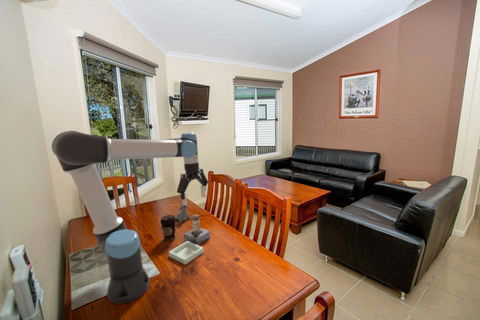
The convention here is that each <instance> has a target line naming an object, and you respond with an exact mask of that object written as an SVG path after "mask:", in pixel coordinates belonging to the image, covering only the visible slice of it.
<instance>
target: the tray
mask: <svg viewBox="0 0 480 320" xmlns="http://www.w3.org/2000/svg"><path fill="white" fill-rule="evenodd" d="M204 249H205V248H204V247H203V246H200V245H196V244H194V243H191V242H189V241H184V242H182V243H181V244H180V245H178V246H177V247H174V248H172V249H171V250H169V251H168V256H169V257H170V258H171V259H174V260H175V261H178V262H180V263H182V264H183V265H185V266H186V265H187V264H188V263H190V262H191V261H193V260H194V259H196V258H197V257H199V256H201V255H202V254H203V253H205V252H204Z"/></svg>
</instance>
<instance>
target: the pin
mask: <svg viewBox="0 0 480 320" xmlns="http://www.w3.org/2000/svg"><path fill="white" fill-rule="evenodd" d="M200 221H201V220H200V215H199V214H197V213H196V214H195V213H194V214H192V215H191V222H192V224H191V225H192V229H193V234H194V235H196V236H197V235H199V234H200V228H201V222H200Z"/></svg>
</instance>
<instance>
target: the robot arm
mask: <svg viewBox="0 0 480 320" xmlns="http://www.w3.org/2000/svg"><path fill="white" fill-rule="evenodd" d="M180 136H181V137H178V138H177V137H176V138H165V139H143V138H140V139H139V138H135V139H134V138H133V139H132V138H108V136H106V135H94V134H88V133H85V132H84V133H83V132H80V131H76V130H67V131H64V132H61V133H58V134H57V135H56V136H55V137H54V139H52V142H51V149H52V152H53V154H54V155H55V156H56V158H57V160H58V163H59V165H60V167H61V169H62V171H63V172H64V173H66V174H69V175H70V176H71V178H72V180H73V182H74V184H75V186H76V189H77V191H78V193H79V195H80V197H81V200H82V201H83V204H84V206H85V208H86V210H87V212H88V215H89V216H90V219H91V220H92V223H93V225H94V227H93V229H92V233H93V236H94V237H95V239H96V244H97V246H98V247H99V248H100V249H101V251H102V253H103V255H104V256H105V258H106V261H107V264H108V271H109V277H110V279H109V281H108V287H107V298H108V300H109V301H110V302H111V303H112V304H116V305H121V304H127V303H132V302H134V301H135V300H137V299H139V298H141V296H143V295H144V294H145V293H146V292H147V291H148V289H149V287H150V278H149V275H148V274H147V272H146V270H145V268H144V267H143V260H142V259H143V258H142V252H141V241H140V237H139V234H138V233H137V231H135V230H133V229H127V228H128V227H127V226H126V223H125V221H124V219H123V217H121V216H118V215H117V212H116V211H115V207H114V206H113V204H112V201H111V199H110V196H109V194H108V192H107V189H106V188H105V184H104V182H103V180H102V177H101V176H100V173H99V170H98V168H97V166H96V165H97V164H107V163H109V162H110V161H115V160H117V161H118V160H130V159H131V160H133V159H134V160H138V159H139V160H140V159H160V158H161V159H162V158H183V163H184V164H183V165H184V166H183V167H184V171H185V173H180V178H179V183H178V186H177V190H176V193H178V194H180V199H181V202H182V203H181V204H183V205H186V206H187V205H188V200H187V199H188V197H187V191H186V190H187V189H188V187H189V185H190V183H191V182H192V181H194V180H197V181H198V183H199V184H201V185H200V195H201V196H200V197H203V198H206V195H207V194H206V191H207V189H206V187H207V186H208V184H209V181H208V179H207V177H206V175H205V173H204V169H203V168H200V164H199V154H198V153H199V152H198V151H199V150H198V138H197V134H196V133H195V132H184V133H181V135H180Z"/></svg>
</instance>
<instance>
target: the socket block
mask: <svg viewBox="0 0 480 320" xmlns="http://www.w3.org/2000/svg"><path fill="white" fill-rule="evenodd" d="M210 232H211V231H210V230H209V229H206V228H202V227H200V234H199V235H197V236H196V235H194V234H193V228H192V229H191V230H188V231H187V232H184V233H183V239H184V242H186V241H189V242H191V243H194V244H196V245H198V246H200V245H201V244H203V243H205V241H207V240H209V239H210V238H211V233H210Z"/></svg>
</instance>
